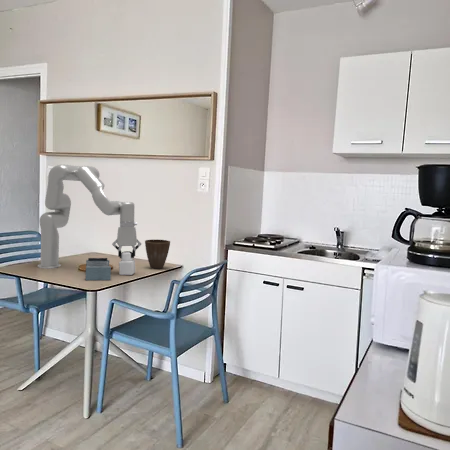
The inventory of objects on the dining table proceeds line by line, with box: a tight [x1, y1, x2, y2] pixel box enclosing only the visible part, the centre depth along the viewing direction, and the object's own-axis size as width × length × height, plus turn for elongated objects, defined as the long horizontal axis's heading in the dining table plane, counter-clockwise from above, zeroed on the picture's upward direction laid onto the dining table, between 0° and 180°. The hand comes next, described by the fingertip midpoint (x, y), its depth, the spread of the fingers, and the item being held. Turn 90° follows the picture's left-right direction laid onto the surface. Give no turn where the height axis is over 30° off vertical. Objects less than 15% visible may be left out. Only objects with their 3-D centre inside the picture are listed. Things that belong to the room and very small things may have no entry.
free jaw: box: [85, 257, 110, 267], centre depth 232 cm, size 3×12×6 cm, turn 108°
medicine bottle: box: [118, 250, 136, 276], centre depth 231 cm, size 7×7×12 cm
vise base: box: [85, 265, 112, 281], centre depth 225 cm, size 25×12×6 cm, turn 18°
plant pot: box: [144, 239, 171, 270], centre depth 253 cm, size 15×15×16 cm
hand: (126, 257), depth 231 cm, fingers closed on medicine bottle, 6 cm apart
